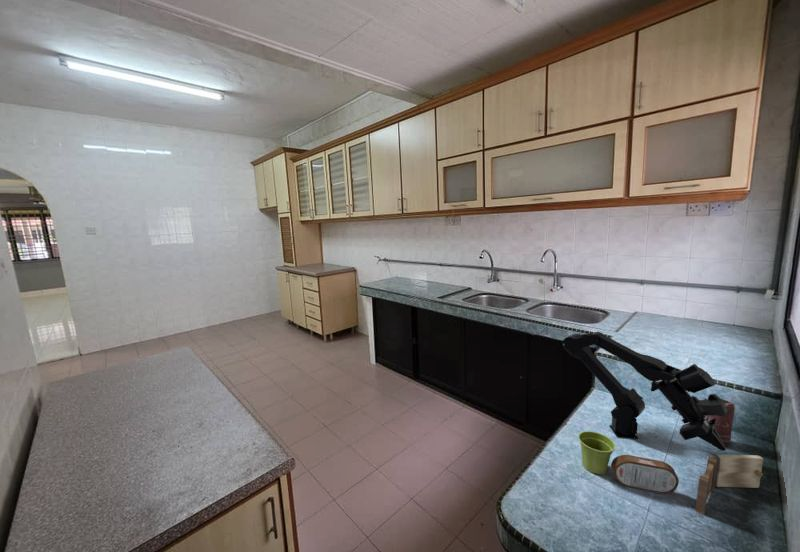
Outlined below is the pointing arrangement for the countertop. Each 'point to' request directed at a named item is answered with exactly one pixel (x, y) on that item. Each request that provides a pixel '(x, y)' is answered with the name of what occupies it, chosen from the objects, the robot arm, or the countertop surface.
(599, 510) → the countertop surface
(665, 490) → the tin
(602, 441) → the plant pot
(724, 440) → the can
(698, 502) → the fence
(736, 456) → the panel
